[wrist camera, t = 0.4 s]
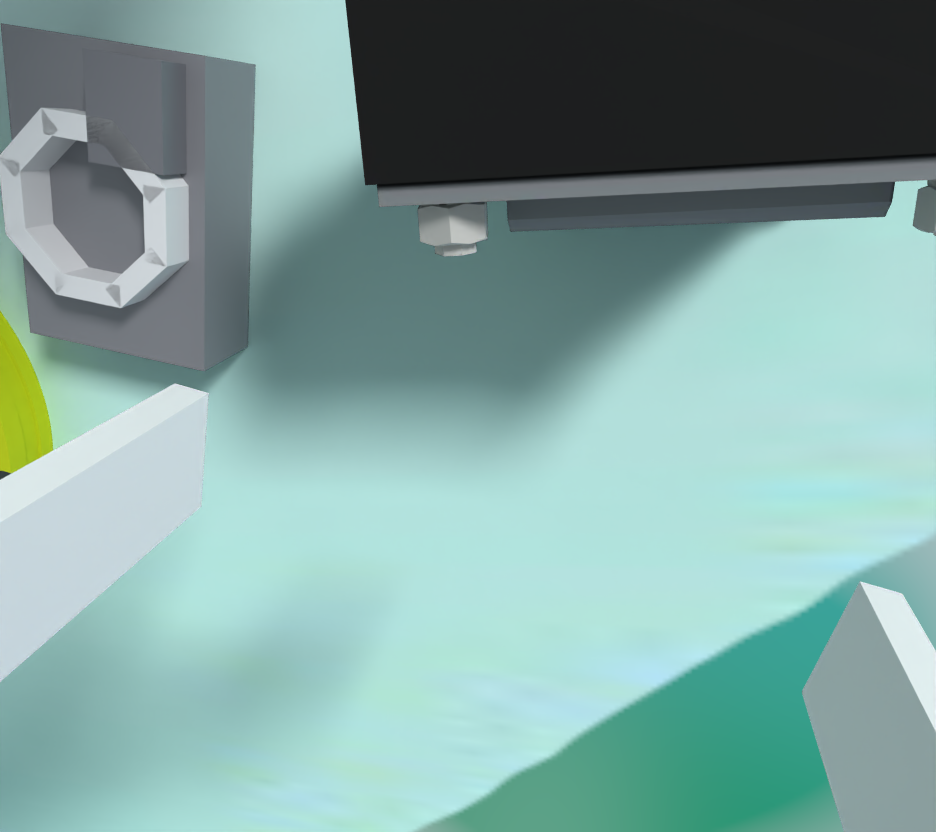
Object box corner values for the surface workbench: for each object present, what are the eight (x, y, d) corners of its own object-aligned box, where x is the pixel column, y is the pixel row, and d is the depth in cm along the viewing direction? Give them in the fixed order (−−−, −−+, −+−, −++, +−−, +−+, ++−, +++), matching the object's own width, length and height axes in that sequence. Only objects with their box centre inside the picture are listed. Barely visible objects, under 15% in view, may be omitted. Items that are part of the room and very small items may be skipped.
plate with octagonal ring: (72, 35, 40) (-34, 17, 34) (255, 64, 39) (181, 51, 32) (89, 312, 46) (2, 341, 40) (247, 347, 45) (184, 382, 39)
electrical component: (494, 202, 39) (373, 265, 21) (484, -15, 35) (325, -172, 17) (852, 185, 35) (1090, 243, 17) (881, -61, 31) (1226, -325, 13)
